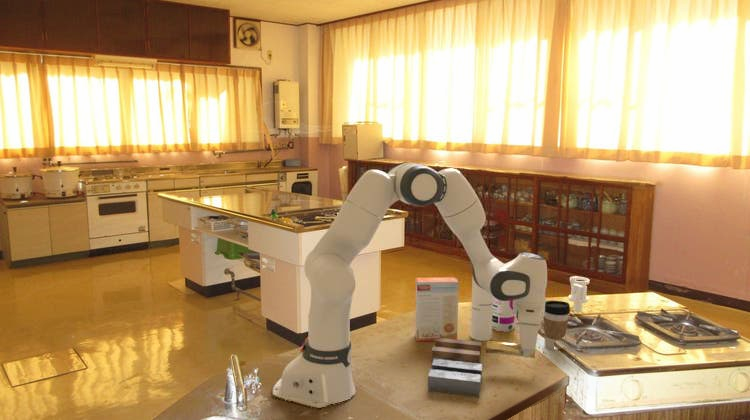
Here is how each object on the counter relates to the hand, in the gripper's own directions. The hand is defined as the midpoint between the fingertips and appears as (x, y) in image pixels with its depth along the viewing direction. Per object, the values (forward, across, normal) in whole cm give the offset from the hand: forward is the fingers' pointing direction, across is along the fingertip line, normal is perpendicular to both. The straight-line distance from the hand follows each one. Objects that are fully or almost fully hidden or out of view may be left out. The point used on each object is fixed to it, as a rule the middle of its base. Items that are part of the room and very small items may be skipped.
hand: (526, 353), depth 160 cm
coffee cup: (+6, -22, +10) cm, 25 cm away
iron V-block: (+6, +13, -19) cm, 24 cm away
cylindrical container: (+6, -24, -14) cm, 29 cm away
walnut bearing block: (+6, 0, -20) cm, 21 cm away
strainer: (+6, -57, +21) cm, 61 cm away
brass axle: (-1, 0, -4) cm, 5 cm away
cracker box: (+7, -19, -29) cm, 35 cm away
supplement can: (+6, -34, -7) cm, 35 cm away
